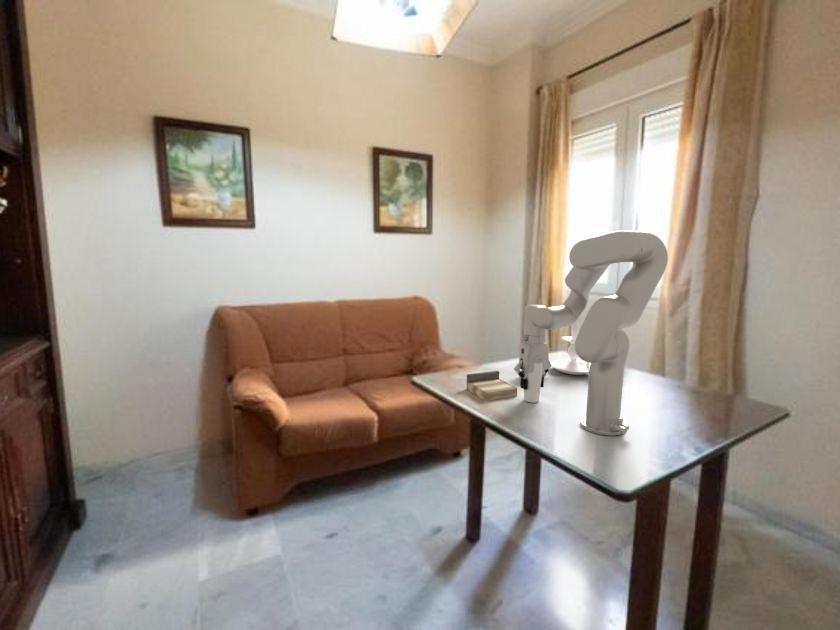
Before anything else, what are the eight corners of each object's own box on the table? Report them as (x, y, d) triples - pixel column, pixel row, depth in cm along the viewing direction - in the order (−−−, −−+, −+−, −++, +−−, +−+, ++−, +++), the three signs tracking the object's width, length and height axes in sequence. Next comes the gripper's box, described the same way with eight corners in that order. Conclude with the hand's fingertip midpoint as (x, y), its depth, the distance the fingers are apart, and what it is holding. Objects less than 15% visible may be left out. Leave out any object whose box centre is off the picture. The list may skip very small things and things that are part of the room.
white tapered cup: (517, 399, 150) (519, 359, 147) (531, 396, 153) (534, 357, 150) (530, 405, 144) (533, 364, 141) (545, 402, 147) (547, 361, 145)
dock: (517, 396, 153) (517, 380, 152) (484, 400, 148) (485, 385, 147) (496, 384, 166) (497, 370, 165) (466, 389, 161) (466, 374, 160)
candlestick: (572, 383, 168) (576, 317, 164) (540, 367, 191) (543, 309, 187) (614, 380, 173) (619, 315, 169) (578, 364, 197) (581, 307, 192)
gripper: (520, 343, 138) (518, 393, 141) (561, 339, 144) (558, 387, 147) (507, 338, 145) (505, 387, 148) (547, 335, 151) (544, 381, 154)
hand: (532, 387), depth 147 cm, fingers closed on white tapered cup, 6 cm apart
